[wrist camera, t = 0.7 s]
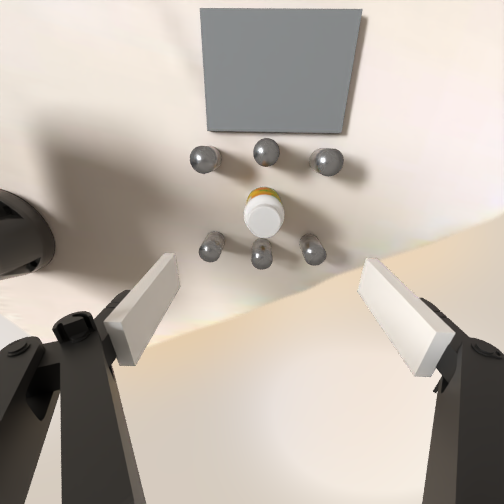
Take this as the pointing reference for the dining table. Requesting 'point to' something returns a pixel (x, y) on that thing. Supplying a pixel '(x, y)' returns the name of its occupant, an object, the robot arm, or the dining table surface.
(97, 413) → the robot arm
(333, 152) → the spacer field
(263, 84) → the slate mat
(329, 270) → the dining table surface
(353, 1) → the dining table surface
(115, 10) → the dining table surface
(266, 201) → the supplement bottle
